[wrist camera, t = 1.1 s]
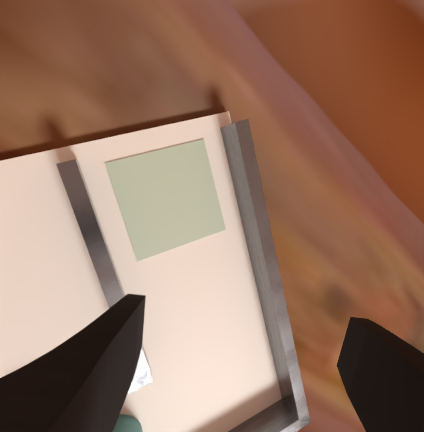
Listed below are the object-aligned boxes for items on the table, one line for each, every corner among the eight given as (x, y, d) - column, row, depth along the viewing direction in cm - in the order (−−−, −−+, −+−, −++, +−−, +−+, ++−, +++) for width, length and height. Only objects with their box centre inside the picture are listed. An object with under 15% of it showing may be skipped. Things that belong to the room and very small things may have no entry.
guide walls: (86, 530, 22) (85, 572, 19) (-77, 197, 16) (-107, 201, 13) (292, 401, 28) (310, 422, 25) (232, 125, 22) (248, 119, 19)
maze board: (77, 540, 22) (77, 549, 21) (-103, 184, 16) (-111, 184, 15) (291, 406, 28) (294, 410, 28) (226, 112, 22) (229, 111, 21)
